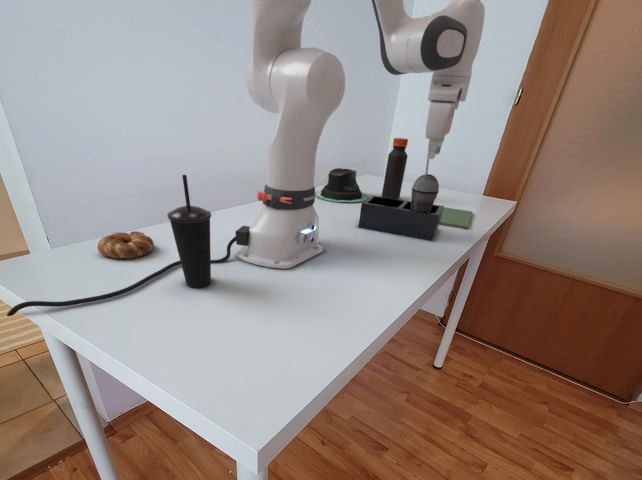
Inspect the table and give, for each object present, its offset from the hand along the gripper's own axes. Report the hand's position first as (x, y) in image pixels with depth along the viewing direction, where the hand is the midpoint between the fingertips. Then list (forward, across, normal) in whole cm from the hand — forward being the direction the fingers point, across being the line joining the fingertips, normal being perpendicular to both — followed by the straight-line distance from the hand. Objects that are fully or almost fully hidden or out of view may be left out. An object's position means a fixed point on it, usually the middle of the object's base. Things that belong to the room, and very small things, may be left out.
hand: (433, 156), depth 95 cm
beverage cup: (+20, 0, 0) cm, 20 cm away
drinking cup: (+20, +59, -33) cm, 71 cm away
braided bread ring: (+20, +54, -57) cm, 81 cm away
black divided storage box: (+20, 0, -5) cm, 21 cm away
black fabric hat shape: (+20, -28, -33) cm, 48 cm away
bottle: (+20, -36, -16) cm, 44 cm away
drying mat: (+20, -22, +5) cm, 30 cm away
